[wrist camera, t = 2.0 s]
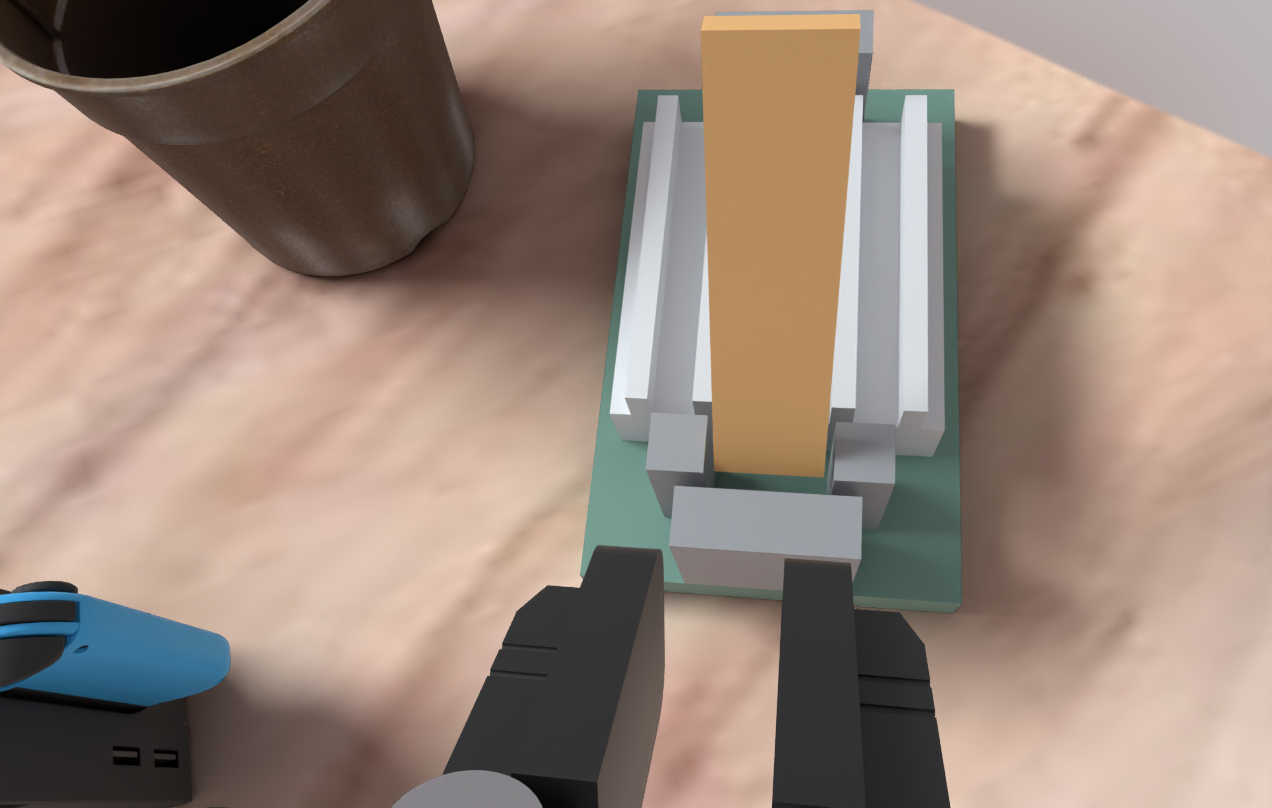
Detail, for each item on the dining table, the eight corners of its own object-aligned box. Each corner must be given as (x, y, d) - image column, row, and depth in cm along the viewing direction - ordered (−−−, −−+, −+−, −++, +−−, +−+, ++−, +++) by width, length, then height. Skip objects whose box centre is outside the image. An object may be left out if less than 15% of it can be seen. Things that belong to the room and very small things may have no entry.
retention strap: (823, 459, 33) (823, 477, 33) (716, 453, 34) (714, 471, 33) (860, 13, 23) (860, 28, 23) (703, 15, 24) (700, 30, 23)
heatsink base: (946, 118, 46) (982, -23, 38) (952, 613, 38) (999, 565, 30) (643, 117, 48) (617, -16, 40) (588, 585, 40) (543, 533, 32)
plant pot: (199, 72, 53) (-29, -214, 38) (497, 5, 52) (386, -315, 37) (196, 348, 46) (-77, 136, 32) (535, 278, 46) (419, 25, 31)
